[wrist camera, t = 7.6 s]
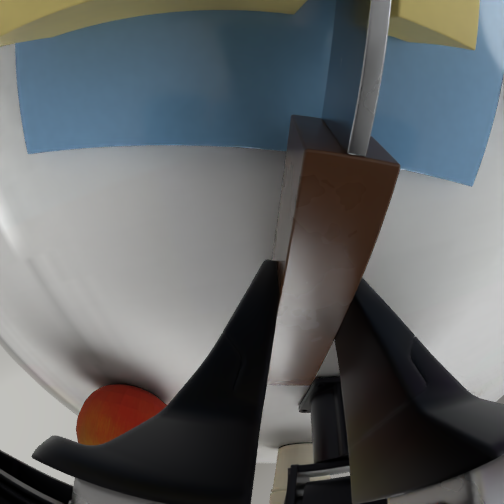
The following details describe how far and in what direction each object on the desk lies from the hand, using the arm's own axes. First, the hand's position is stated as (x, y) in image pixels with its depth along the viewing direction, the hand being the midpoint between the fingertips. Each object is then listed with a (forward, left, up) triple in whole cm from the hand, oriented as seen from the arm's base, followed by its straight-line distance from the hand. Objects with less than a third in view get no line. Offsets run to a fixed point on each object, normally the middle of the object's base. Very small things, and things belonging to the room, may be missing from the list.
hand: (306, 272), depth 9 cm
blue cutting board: (+10, +2, -3) cm, 11 cm away
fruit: (-20, +11, -3) cm, 23 cm away
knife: (+6, 0, -1) cm, 6 cm away
